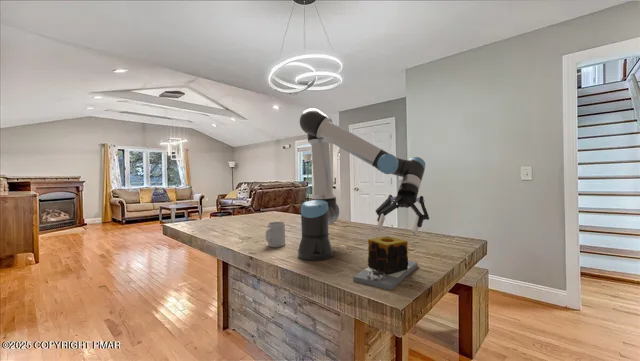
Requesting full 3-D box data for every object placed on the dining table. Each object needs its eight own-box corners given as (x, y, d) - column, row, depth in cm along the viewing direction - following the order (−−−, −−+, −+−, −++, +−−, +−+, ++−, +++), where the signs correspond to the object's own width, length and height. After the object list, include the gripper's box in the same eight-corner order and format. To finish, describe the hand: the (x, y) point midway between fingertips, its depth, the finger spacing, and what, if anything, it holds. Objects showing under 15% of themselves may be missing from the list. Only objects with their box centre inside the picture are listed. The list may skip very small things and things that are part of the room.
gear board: (353, 281, 89) (353, 269, 89) (384, 260, 110) (384, 250, 110) (391, 290, 82) (391, 277, 82) (417, 266, 103) (417, 255, 103)
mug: (275, 242, 143) (275, 221, 143) (288, 244, 139) (288, 222, 139) (259, 247, 133) (259, 225, 133) (273, 249, 129) (273, 226, 128)
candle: (386, 275, 89) (386, 245, 89) (367, 266, 98) (366, 239, 97) (409, 269, 94) (408, 241, 94) (388, 262, 103) (388, 235, 102)
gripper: (443, 195, 106) (433, 241, 95) (383, 193, 121) (368, 233, 110) (440, 182, 102) (429, 229, 90) (378, 181, 117) (361, 222, 105)
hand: (395, 231), depth 100 cm, fingers open, 13 cm apart
